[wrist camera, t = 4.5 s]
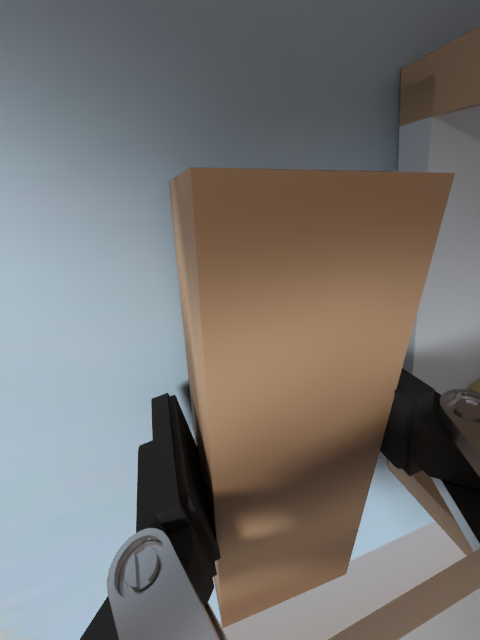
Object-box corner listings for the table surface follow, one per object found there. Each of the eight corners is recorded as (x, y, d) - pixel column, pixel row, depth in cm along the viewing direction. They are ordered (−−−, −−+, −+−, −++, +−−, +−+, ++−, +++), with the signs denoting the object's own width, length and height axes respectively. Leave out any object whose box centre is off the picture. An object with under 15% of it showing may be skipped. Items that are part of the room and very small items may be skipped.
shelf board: (169, 181, 7) (190, 168, 4) (331, 182, 9) (455, 173, 5) (202, 513, 13) (222, 628, 10) (297, 482, 14) (346, 574, 11)
